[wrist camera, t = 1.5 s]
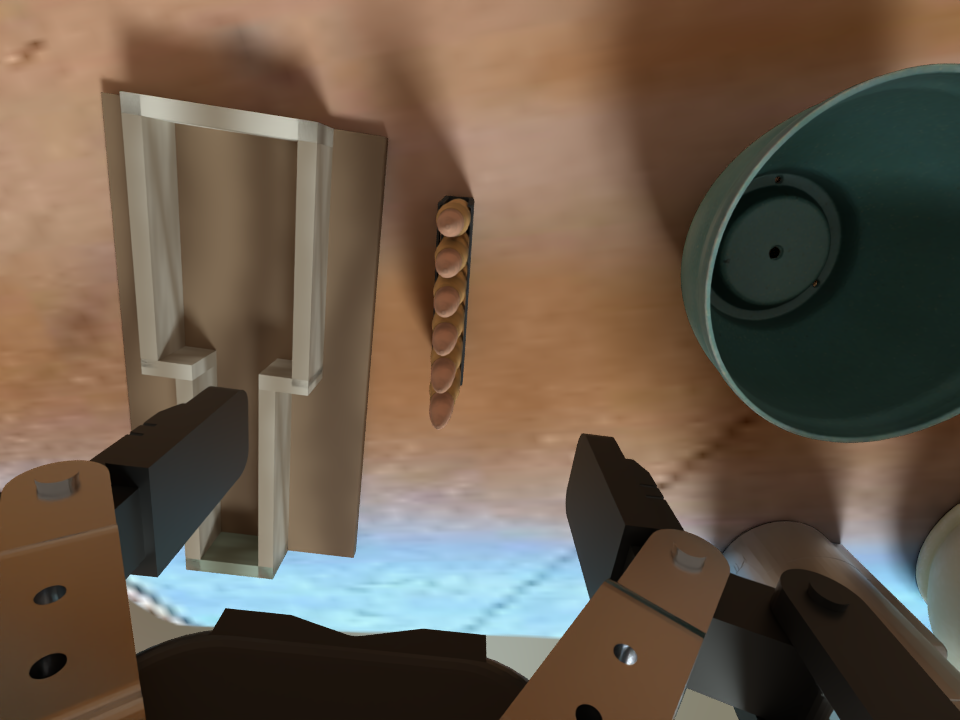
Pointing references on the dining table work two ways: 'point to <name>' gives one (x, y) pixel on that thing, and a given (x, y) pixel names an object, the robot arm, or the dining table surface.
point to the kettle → (943, 581)
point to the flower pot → (839, 263)
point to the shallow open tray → (252, 306)
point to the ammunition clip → (450, 304)
